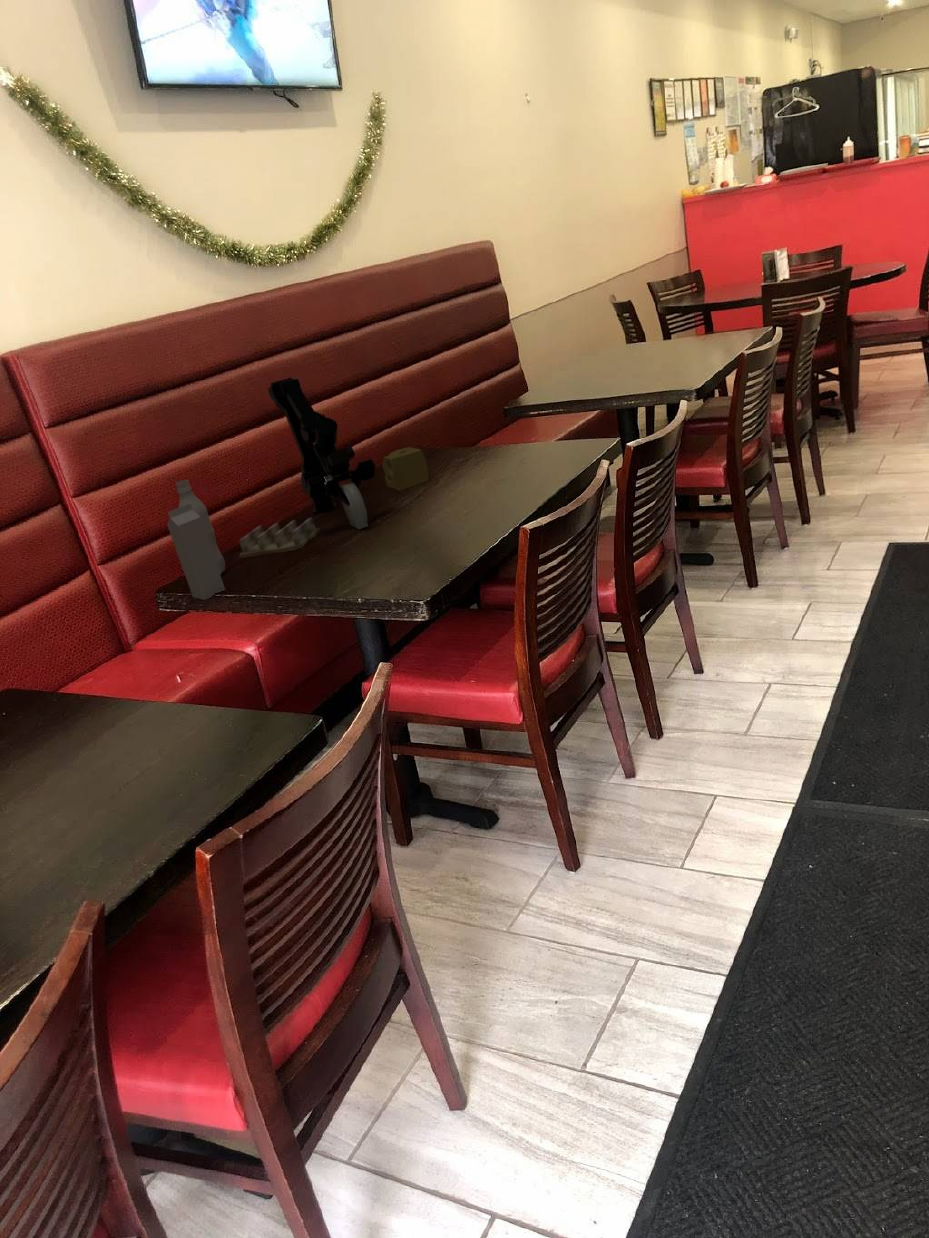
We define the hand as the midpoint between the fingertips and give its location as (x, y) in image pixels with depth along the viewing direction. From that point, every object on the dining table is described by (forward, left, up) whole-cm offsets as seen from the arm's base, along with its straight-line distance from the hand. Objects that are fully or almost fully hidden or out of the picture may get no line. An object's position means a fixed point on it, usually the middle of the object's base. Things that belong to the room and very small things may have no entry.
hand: (354, 502), depth 260 cm
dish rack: (-1, -23, -7) cm, 24 cm away
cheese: (-38, +10, -7) cm, 40 cm away
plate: (-1, -1, -7) cm, 7 cm away
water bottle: (+14, -38, -7) cm, 41 cm away
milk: (+30, -35, -7) cm, 46 cm away
